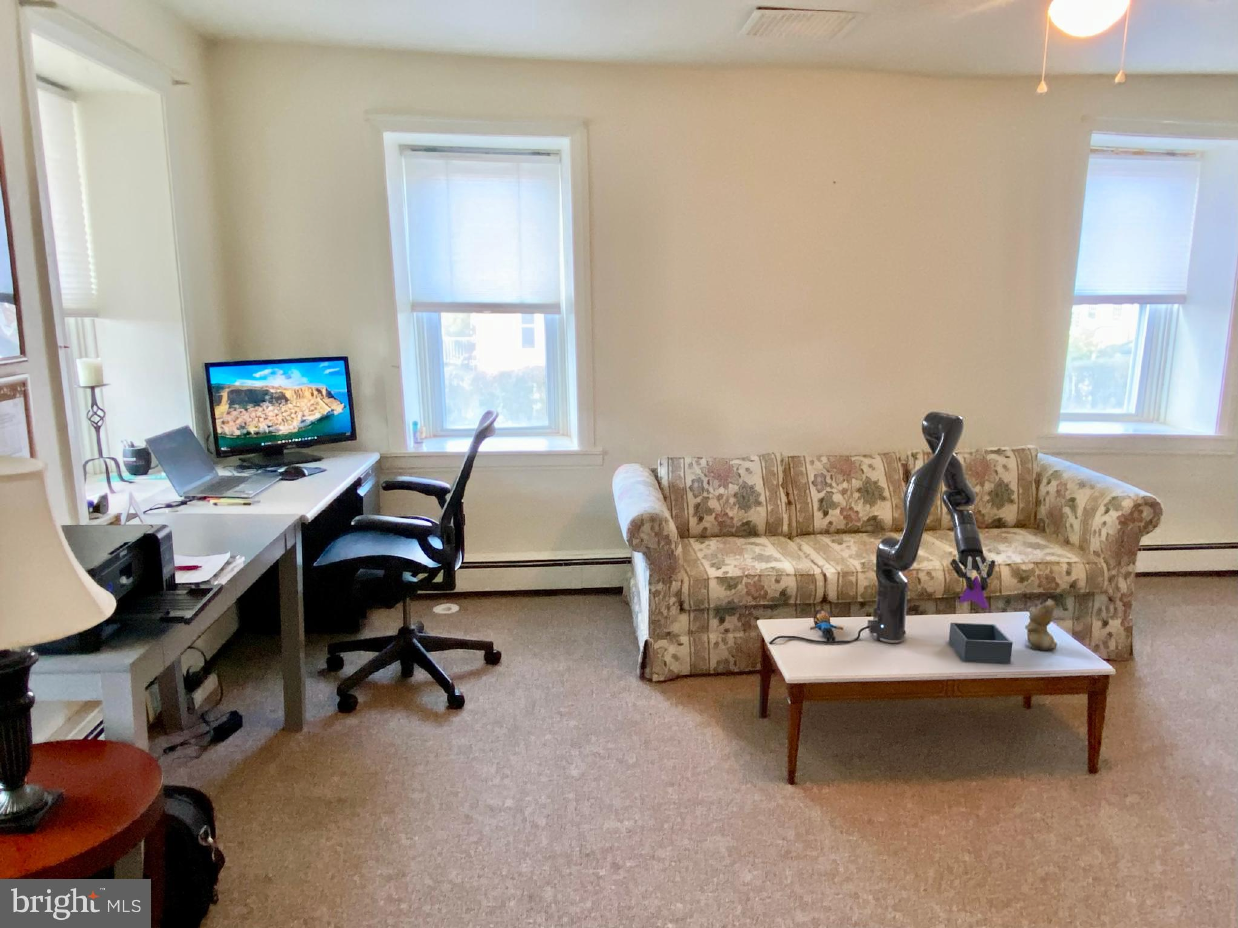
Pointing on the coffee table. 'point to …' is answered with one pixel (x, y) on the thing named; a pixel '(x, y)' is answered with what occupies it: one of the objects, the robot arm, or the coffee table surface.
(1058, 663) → the coffee table surface
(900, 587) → the robot arm
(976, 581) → the arrowhead
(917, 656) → the coffee table surface
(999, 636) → the bin
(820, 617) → the toy
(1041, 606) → the figurine
